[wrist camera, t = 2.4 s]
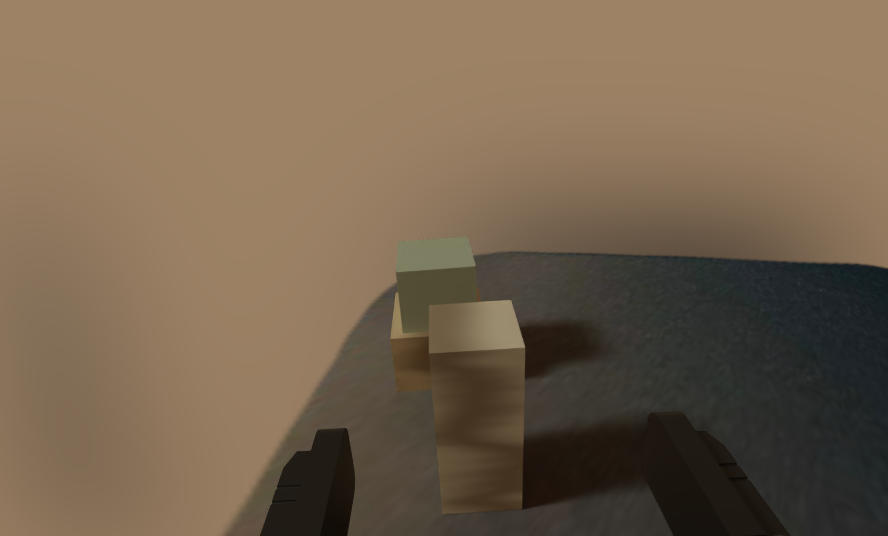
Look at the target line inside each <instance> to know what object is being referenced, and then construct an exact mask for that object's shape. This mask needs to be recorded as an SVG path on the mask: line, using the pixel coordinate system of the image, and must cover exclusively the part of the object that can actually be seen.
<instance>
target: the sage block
mask: <svg viewBox="0 0 888 536" xmlns="http://www.w3.org/2000/svg"><path fill="white" fill-rule="evenodd" d="M396 277H397V286H398V295H399V304H400V313H401V322H402V331H403V334H404V333H416V332H429V305H440V304H456V303H472V302H477V292H476V266H475V262H474V258H473V255H472V251H471V247H470V244H469V240H468V237H457V238H442V239H429V240H415V241H402V242H398V251H397V266H396Z"/></svg>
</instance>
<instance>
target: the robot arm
mask: <svg viewBox="0 0 888 536" xmlns="http://www.w3.org/2000/svg"><path fill="white" fill-rule="evenodd" d="M642 467H643V472H644V475H645V478H646V481H647V483H648V485H649V487H650V489H651V491H652V493H653V495H654V497H655V499H656V501H657V503H658V505H659V507H660V509H661V511H662V513H663V515H664V517H665V519H666V521H667V523H668V525H669V527H670V529H671V531H672V533H673V535H674V536H790V535H789V533H788V532H787V531H786V529H785V528H784V527H783V525H782V524H781V523H780V521H779V520H778V518H777V517H776V516H775V514H774V513H773V512H772V510H771V509H770V507H769V506H768V505H767V503H766V502H765V501H764V499H763V498H762V497H761V495H760V494H759V492H758V491H757V490H756V488H755V487H754V486H753V484H752V483H751V482H750V481H748V479H747V476H746V475H745V473H744V472H743V471H742V469H741V468H740V467H739V466H737V462H736V461H735V460H734V458H733V457H732V456H731V454H730V453H729V451H728V450H727V449H726V447H725V446H724V445H723V444H722V443H720V442H719V441H718V440H716V439H715V438H714V437H712V436H711V435H710V434H709V433H707V432H706V431H695V429H694V428H693V426H692V425H691V423H690V422H689V420H688V419H687V418H686V416H685V415H684V414H683V413H682V412H662V413H651V414H650V415H649V417H648V422H647V428H646V434H645V440H644V446H643V452H642ZM354 490H355V472H354V465H353V459H352V453H351V447H350V441H349V435H348V430H347V429H346V428H340V429H321V430H318V431H317V432H316V435H315V439H314V442H313V445H312V449H311V451H297V452H296V453H295V455H294V456H293V457H292V458H291V459H290V461H289V462H288V463H287V464H286V465H285V467H284V468H283V471H282V474H281V477H280V479H279V482H278V485H277V490H276V491H275V494H274V497H273V500H272V505H270V508H269V511H268V514H267V517H266V520H265V523H264V526H263V529H262V531H261V534H260V536H347V533H348V527H349V522H350V516H351V510H352V504H353V498H354Z"/></svg>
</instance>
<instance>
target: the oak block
mask: <svg viewBox="0 0 888 536" xmlns="http://www.w3.org/2000/svg"><path fill="white" fill-rule="evenodd" d="M476 292H477V302H481V299H480V294H479V289H478V287H476ZM391 347H392V355H393V363H394V371H395V379H396V387H397V392H404V391H419V390H432V384H431V372H430V360H429V332H416V333H404V334H403V331H402V322H401V313H400V304H399V295H398V292H397V293H396V296H395V305H394V313H393V322H392V330H391Z"/></svg>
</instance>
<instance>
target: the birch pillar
mask: <svg viewBox="0 0 888 536" xmlns="http://www.w3.org/2000/svg"><path fill="white" fill-rule="evenodd" d="M429 360H430V372H431V384H432V396H433V408H434V420H435V432H436V444H437V456H438V468H439V480H440V492H441V503H442V514H456V513H472V512H488V511H504V510H521V509H522V489H523V439H524V388H525V345H524V342H523V338H522V335H521V332H520V329H519V325H518V322H517V319H516V315H515V312H514V309H513V306H512V302H511V300H505V301H489V302H472V303H456V304H440V305H429Z"/></svg>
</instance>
